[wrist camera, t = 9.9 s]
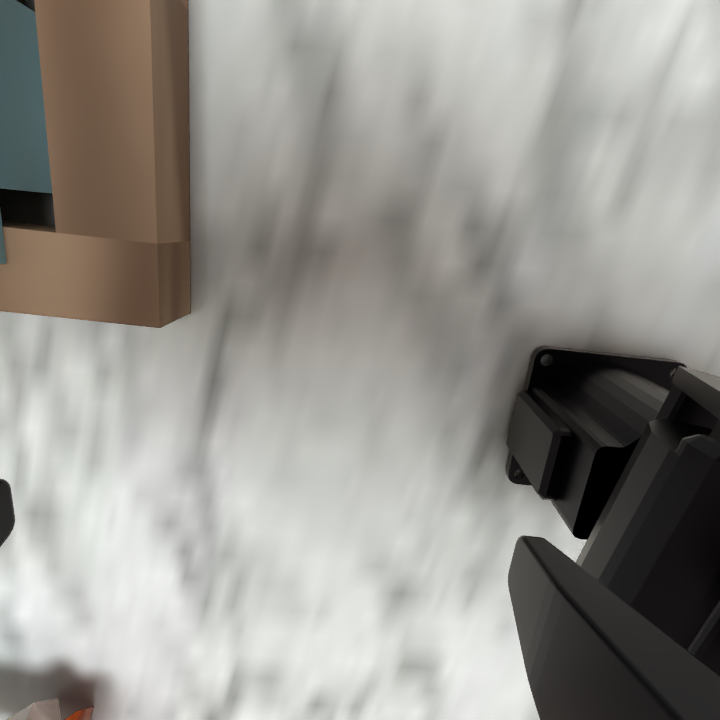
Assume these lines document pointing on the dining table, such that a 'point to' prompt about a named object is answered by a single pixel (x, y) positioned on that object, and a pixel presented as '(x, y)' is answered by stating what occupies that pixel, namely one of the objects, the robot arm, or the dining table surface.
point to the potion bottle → (49, 712)
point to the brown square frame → (109, 167)
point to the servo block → (21, 106)
